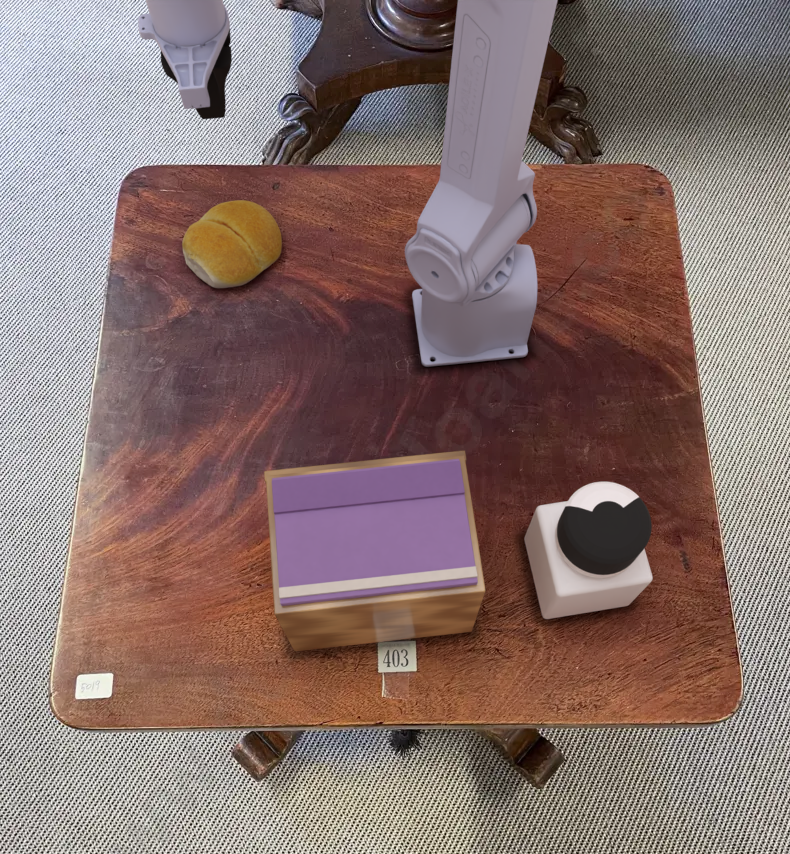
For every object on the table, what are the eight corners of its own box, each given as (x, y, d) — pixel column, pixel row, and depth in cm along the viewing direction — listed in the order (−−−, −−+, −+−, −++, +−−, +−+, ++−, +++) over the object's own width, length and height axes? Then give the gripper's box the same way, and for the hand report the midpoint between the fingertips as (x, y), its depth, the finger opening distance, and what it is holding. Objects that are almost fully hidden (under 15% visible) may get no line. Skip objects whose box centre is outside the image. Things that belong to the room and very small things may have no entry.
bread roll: (299, 247, 81) (294, 218, 77) (229, 305, 79) (221, 278, 75) (240, 199, 83) (232, 168, 79) (169, 254, 81) (158, 226, 77)
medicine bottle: (630, 606, 68) (675, 559, 57) (542, 620, 68) (570, 576, 56) (607, 523, 71) (646, 462, 59) (522, 536, 70) (546, 478, 59)
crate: (455, 509, 71) (465, 449, 60) (473, 631, 67) (487, 591, 57) (284, 527, 71) (263, 470, 60) (292, 651, 67) (272, 614, 56)
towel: (458, 462, 60) (459, 456, 59) (477, 584, 57) (478, 580, 56) (273, 481, 60) (271, 476, 59) (281, 606, 56) (279, 602, 56)
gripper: (121, -96, 66) (166, 56, 78) (120, 41, 61) (168, 181, 73) (213, -104, 66) (243, 49, 79) (220, 33, 61) (251, 173, 73)
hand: (213, 112), depth 76 cm, fingers closed
